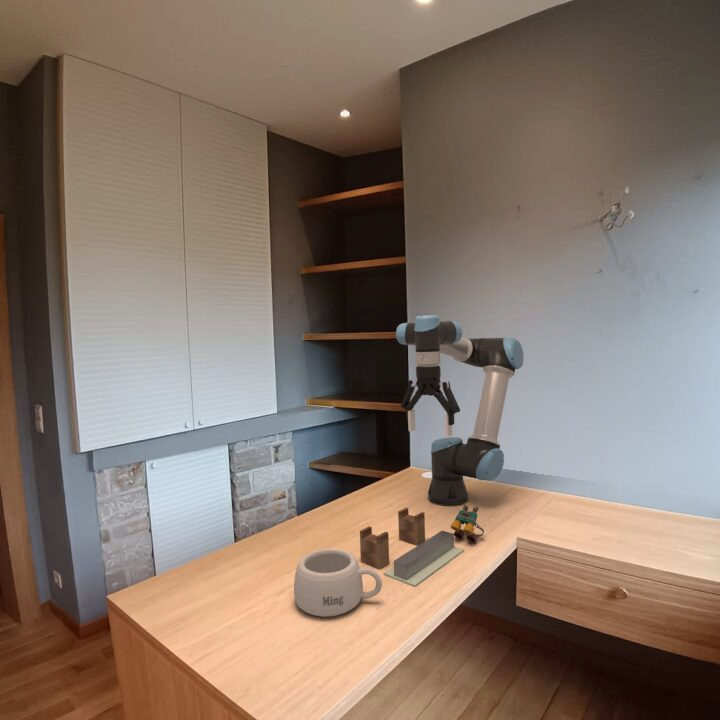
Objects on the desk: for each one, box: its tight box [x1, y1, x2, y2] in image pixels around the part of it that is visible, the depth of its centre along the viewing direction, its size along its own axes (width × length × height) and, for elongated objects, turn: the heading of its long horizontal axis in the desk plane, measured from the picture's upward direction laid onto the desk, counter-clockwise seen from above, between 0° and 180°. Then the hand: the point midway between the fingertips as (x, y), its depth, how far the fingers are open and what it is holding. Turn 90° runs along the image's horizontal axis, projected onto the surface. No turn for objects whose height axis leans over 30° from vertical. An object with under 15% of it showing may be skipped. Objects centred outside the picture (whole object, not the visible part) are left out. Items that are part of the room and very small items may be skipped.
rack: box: [359, 507, 426, 570], centre depth 141 cm, size 7×22×9 cm, turn 139°
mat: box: [383, 545, 465, 588], centre depth 134 cm, size 10×25×1 cm, turn 139°
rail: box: [393, 530, 455, 581], centre depth 134 cm, size 4×24×4 cm, turn 139°
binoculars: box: [450, 504, 485, 544], centre depth 148 cm, size 9×9×10 cm
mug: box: [293, 548, 383, 618], centre depth 116 cm, size 21×17×10 cm
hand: (429, 433), depth 150 cm, fingers open, 13 cm apart
